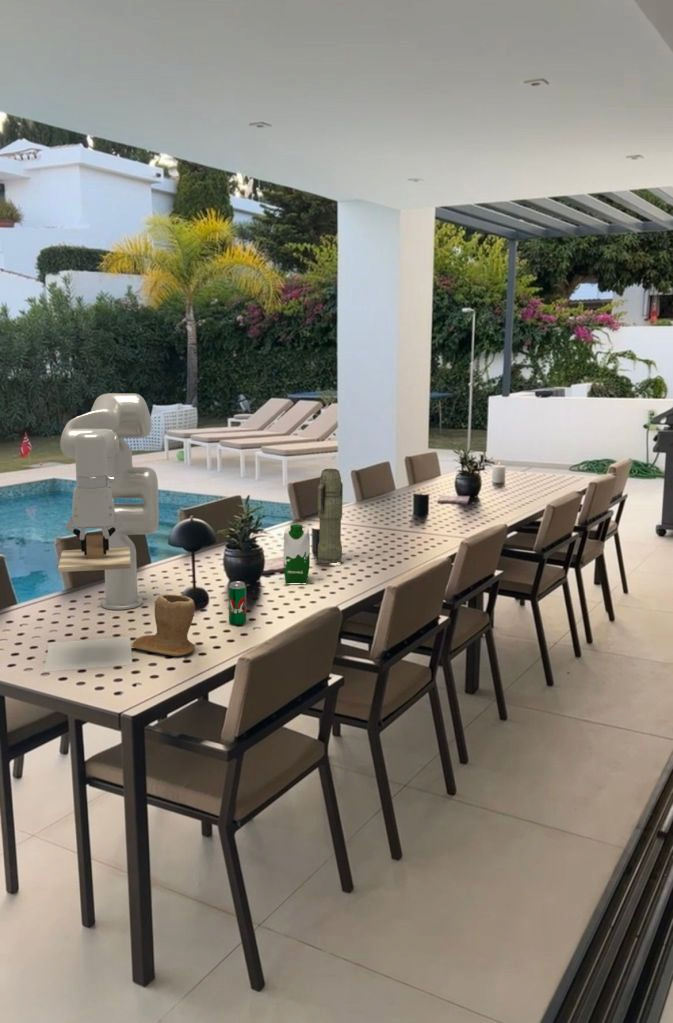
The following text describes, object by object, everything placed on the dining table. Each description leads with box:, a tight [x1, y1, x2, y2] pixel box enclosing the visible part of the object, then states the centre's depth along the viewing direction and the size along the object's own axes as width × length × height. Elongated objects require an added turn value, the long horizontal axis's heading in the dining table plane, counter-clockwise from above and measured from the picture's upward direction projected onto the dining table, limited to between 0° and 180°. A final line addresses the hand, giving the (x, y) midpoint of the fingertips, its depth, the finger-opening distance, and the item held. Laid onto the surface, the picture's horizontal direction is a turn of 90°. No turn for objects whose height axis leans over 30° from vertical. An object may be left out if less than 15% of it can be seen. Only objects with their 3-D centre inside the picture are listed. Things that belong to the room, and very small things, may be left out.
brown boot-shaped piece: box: [131, 593, 196, 657], centre depth 224 cm, size 15×12×15 cm
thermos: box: [317, 468, 344, 563], centre depth 312 cm, size 9×12×35 cm
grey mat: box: [43, 636, 133, 673], centre depth 221 cm, size 21×21×1 cm
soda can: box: [227, 580, 247, 626], centre depth 247 cm, size 5×5×12 cm
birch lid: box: [57, 531, 131, 573], centre depth 216 cm, size 17×17×7 cm
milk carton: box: [283, 523, 311, 584], centre depth 290 cm, size 9×9×20 cm
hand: (95, 552), depth 217 cm, fingers closed on birch lid, 4 cm apart
